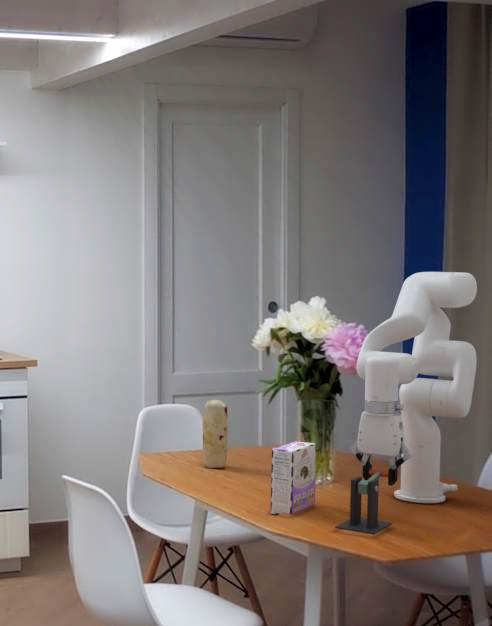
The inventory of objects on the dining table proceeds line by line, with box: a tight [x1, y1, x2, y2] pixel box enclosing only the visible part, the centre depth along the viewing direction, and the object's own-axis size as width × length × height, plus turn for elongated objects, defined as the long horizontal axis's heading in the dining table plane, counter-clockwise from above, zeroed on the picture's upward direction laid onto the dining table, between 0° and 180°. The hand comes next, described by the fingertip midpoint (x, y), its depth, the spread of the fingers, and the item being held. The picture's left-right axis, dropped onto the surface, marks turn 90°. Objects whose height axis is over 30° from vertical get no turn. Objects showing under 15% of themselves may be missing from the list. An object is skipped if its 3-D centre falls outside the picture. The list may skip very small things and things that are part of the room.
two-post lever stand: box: [334, 476, 393, 535], centre depth 247 cm, size 12×9×12 cm
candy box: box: [269, 440, 317, 516], centre depth 264 cm, size 14×6×16 cm, turn 141°
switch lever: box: [358, 468, 388, 496], centre depth 250 cm, size 12×5×2 cm, turn 142°
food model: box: [202, 399, 229, 469], centre depth 318 cm, size 10×7×20 cm
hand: (379, 482), depth 254 cm, fingers closed on switch lever, 5 cm apart
